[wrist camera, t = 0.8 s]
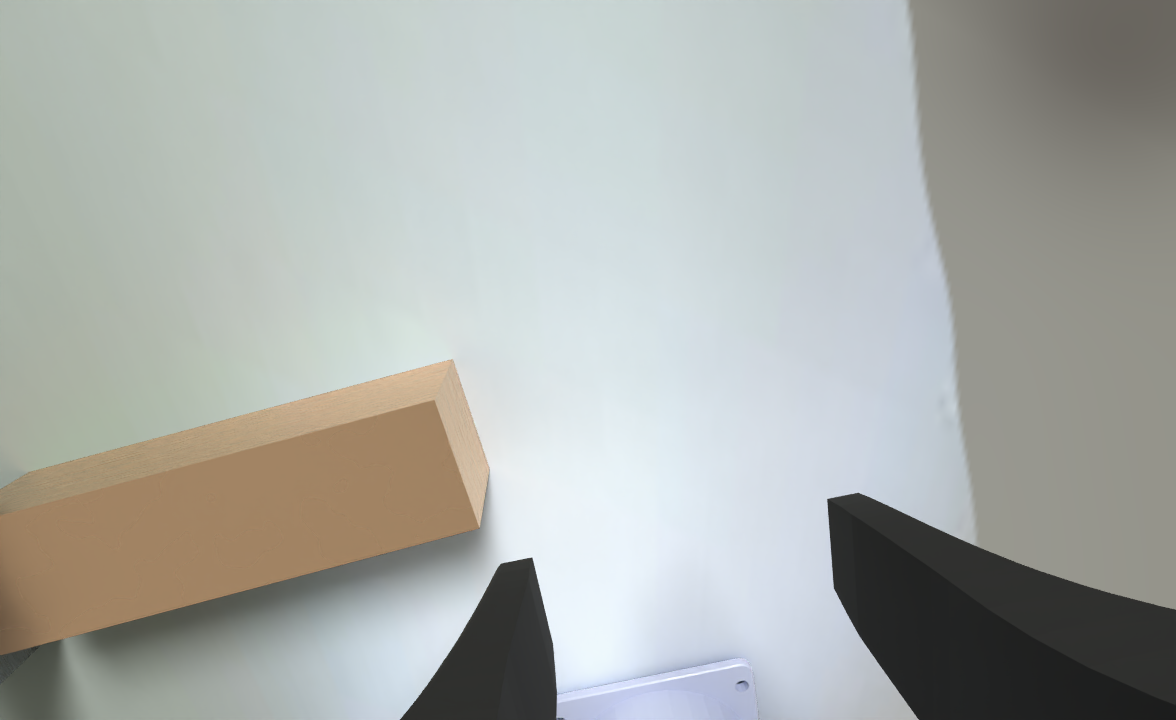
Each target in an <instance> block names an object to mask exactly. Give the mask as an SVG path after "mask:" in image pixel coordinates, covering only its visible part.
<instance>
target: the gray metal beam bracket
mask: <svg viewBox="0 0 1176 720" xmlns="http://www.w3.org/2000/svg"><path fill="white" fill-rule="evenodd" d="M39 646H40V645H38V646H34V647H31V648H27V649H23V650H19V651H16V652H12V653H8V654H4V655H0V684H1V683H2V682H3V681H4V680H5V679H6V678H7V677H8V676H9V675H10V674H11V673H12V672H13V671H14V670H15V669H16V668H17V667H18V666H20V665H21V664H22V663H23V662H24V661H25V660H26V659H27V658H28V657H29V656H30V655H31V654H32V653H33V652H34V651H35V650H36V649H37V648H38V647H39Z"/></svg>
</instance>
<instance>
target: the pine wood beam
mask: <svg viewBox="0 0 1176 720" xmlns="http://www.w3.org/2000/svg"><path fill="white" fill-rule="evenodd" d="M488 475H489V466H488V463H487V460H486V457H485V454H484V451H483V448H482V445H481V442H480V439H479V436H478V433H477V430H476V427H475V424H474V421H473V418H472V415H471V412H470V409H469V406H468V403H467V400H466V397H465V394H464V391H463V388H462V385H461V382H460V379H459V376H458V373H457V370H456V367H455V364H454V361H453V359H451V360H447V361H444V362H440V363H436V364H432V365H429V366H425V367H421V368H417V369H414V370H410V371H406V372H402V373H399V374H395V375H391V376H387V377H384V378H380V379H376V380H372V381H369V382H365V383H361V384H357V385H354V386H350V387H346V388H342V389H339V390H335V391H331V392H327V393H324V394H320V395H316V396H312V397H309V398H305V399H301V400H297V401H294V402H290V403H286V404H282V405H279V406H275V407H271V408H268V409H264V410H260V411H256V412H253V413H249V414H245V415H241V416H238V417H234V418H230V419H226V420H223V421H219V422H215V423H211V424H208V425H204V426H200V427H196V428H193V429H189V430H185V431H181V432H178V433H174V434H170V435H166V436H163V437H159V438H155V439H151V440H148V441H144V442H140V443H136V444H133V445H129V446H125V447H121V448H118V449H114V450H110V451H106V452H103V453H99V454H95V455H91V456H88V457H84V458H80V459H76V460H73V461H69V462H65V463H61V464H58V465H54V466H50V467H46V468H43V469H39V470H35V471H31V472H28V473H27V474H25V475H23V476H22V477H20V478H18V479H17V480H15V481H13V482H12V483H10V484H8V485H7V486H5V487H3V488H2V489H0V655H4V654H8V653H12V652H16V651H19V650H23V649H27V648H31V647H34V646H38V645H42V644H46V643H50V642H53V641H57V640H61V639H65V638H68V637H72V636H76V635H80V634H83V633H87V632H91V631H95V630H99V629H102V628H106V627H110V626H114V625H117V624H121V623H125V622H129V621H132V620H136V619H140V618H144V617H147V616H151V615H155V614H159V613H163V612H166V611H170V610H174V609H178V608H181V607H185V606H189V605H193V604H196V603H200V602H204V601H208V600H212V599H215V598H219V597H223V596H227V595H230V594H234V593H238V592H242V591H245V590H249V589H253V588H257V587H261V586H264V585H268V584H272V583H276V582H279V581H283V580H287V579H291V578H294V577H298V576H302V575H306V574H309V573H313V572H317V571H321V570H325V569H328V568H332V567H336V566H340V565H343V564H347V563H351V562H355V561H358V560H362V559H366V558H370V557H374V556H377V555H381V554H385V553H389V552H392V551H396V550H400V549H404V548H407V547H411V546H415V545H419V544H423V543H426V542H430V541H434V540H438V539H441V538H445V537H449V536H453V535H456V534H460V533H464V532H468V531H472V530H475V529H479V528H480V523H481V517H482V511H483V505H484V499H485V493H486V487H487V481H488Z"/></svg>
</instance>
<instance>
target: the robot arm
mask: <svg viewBox="0 0 1176 720" xmlns="http://www.w3.org/2000/svg"><path fill="white" fill-rule="evenodd" d="M827 502H828V515H829V528H830V542H831V555H832V569H833V582H834V589H835V591H836V593H837V595H838V597H839V599H840V601H841V603H842V605H843V607H844V609H845V610H846V612H847V614H848V616H849V618H850V620H851V622H852V623H853V625H854V627H855V629H856V631H857V632H858V634H859V636H860V637H861V639H862V640H863V642H864V643H865V645H866V646H867V648H868V649H869V650H870V652H871V653H872V655H873V656H874V657H875V659H876V660H877V662H878V663H879V665H880V666H881V667H882V669H883V670H884V672H885V673H886V674H887V676H888V677H889V679H890V680H891V681H892V683H893V684H894V686H895V687H896V688H897V690H898V691H899V693H900V694H901V695H902V697H903V698H904V700H905V701H906V702H907V704H908V705H909V707H910V708H911V709H912V711H913V712H914V714H915V715H916V716H917V718H918V719H919V720H1176V610H1175V609H1170V608H1165V607H1161V606H1157V605H1154V604H1150V603H1146V602H1142V601H1138V600H1134V599H1130V598H1127V597H1123V596H1118V595H1115V594H1111V593H1107V592H1104V591H1101V590H1097V589H1094V588H1090V587H1087V586H1084V585H1080V584H1077V583H1074V582H1072V581H1068V580H1065V579H1062V578H1059V577H1056V576H1053V575H1050V574H1047V573H1044V572H1041V571H1038V570H1035V569H1033V568H1030V567H1027V566H1024V565H1022V564H1019V563H1016V562H1014V561H1011V560H1009V559H1006V558H1004V557H1001V556H999V555H996V554H994V553H991V552H989V551H986V550H984V549H981V548H979V547H977V546H974V545H972V544H970V543H967V542H965V541H963V540H960V539H958V538H956V537H954V536H951V535H949V534H947V533H945V532H942V531H940V530H938V529H936V528H934V527H932V526H929V525H927V524H925V523H923V522H921V521H919V520H917V519H915V518H912V517H910V516H908V515H906V514H904V513H902V512H900V511H898V510H896V509H894V508H891V507H889V506H887V505H885V504H883V503H881V502H879V501H876V500H874V499H872V498H870V497H867V496H865V495H862V494H860V493H855V494H850V495H845V496H840V497H835V498H830V499H827ZM739 681H744V682H743V683H740V684H737V683H738V682H739ZM557 718H564V719H562V720H759V714H758V706H757V698H756V690H755V682H754V674H753V670H752V668H751V665H750V663H749V662H748V661H747V660H746V659H743V658H736V659H731V660H726V661H721V662H716V663H711V664H706V665H701V666H696V667H691V668H686V669H681V670H676V671H671V672H666V673H661V674H656V675H652V676H647V677H642V678H637V679H632V680H627V681H622V682H617V683H612V684H607V685H602V686H597V687H592V688H587V689H582V690H577V691H572V692H567V693H562V694H558V695H557V689H556V675H555V663H554V651H553V643H552V638H551V634H550V630H549V626H548V622H547V617H546V613H545V609H544V605H543V601H542V596H541V592H540V588H539V584H538V579H537V575H536V571H535V567H534V563H533V558H527V559H522V560H517V561H512V562H507V563H502V564H500V566H499V567H498V569H497V570H496V572H495V574H494V576H493V578H492V580H491V582H490V584H489V586H488V587H487V589H486V591H485V593H484V595H483V597H482V599H481V601H480V602H479V604H478V606H477V608H476V610H475V611H474V613H473V615H472V617H471V618H470V620H469V622H468V623H467V625H466V627H465V628H464V630H463V632H462V633H461V635H460V637H459V639H458V640H457V642H456V643H455V645H454V647H453V648H452V650H451V651H450V653H449V654H448V656H447V657H446V658H445V660H444V661H443V663H442V664H441V666H440V667H439V669H438V670H437V672H436V673H435V675H434V676H433V678H432V679H431V681H430V682H429V683H428V685H427V686H426V687H425V689H424V690H423V691H422V693H421V694H420V695H419V697H418V698H417V699H416V701H415V702H414V703H413V705H412V706H411V707H410V708H409V709H408V711H407V712H406V713H405V714H404V716H403V717H402V718H401V719H400V720H556V719H557Z"/></svg>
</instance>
